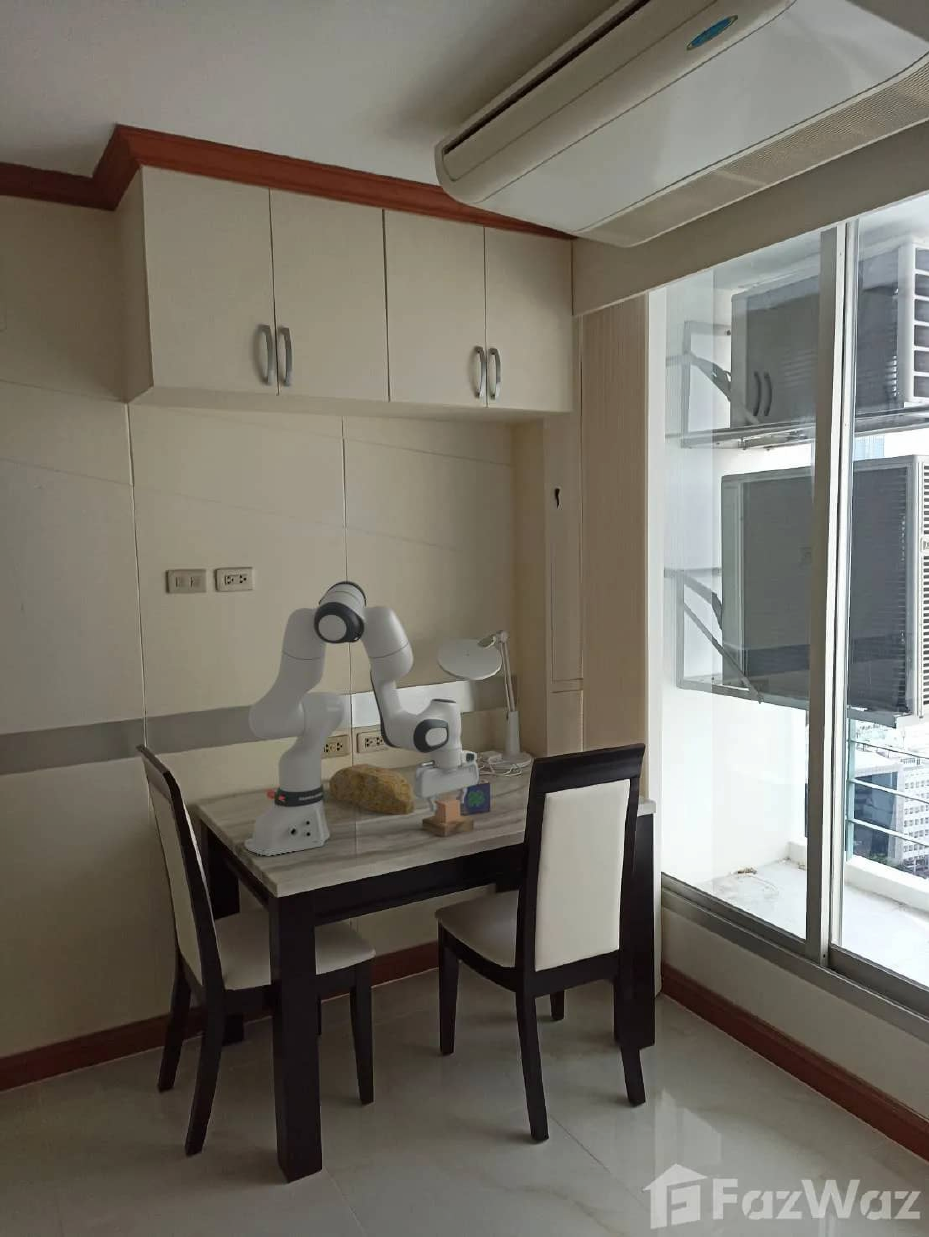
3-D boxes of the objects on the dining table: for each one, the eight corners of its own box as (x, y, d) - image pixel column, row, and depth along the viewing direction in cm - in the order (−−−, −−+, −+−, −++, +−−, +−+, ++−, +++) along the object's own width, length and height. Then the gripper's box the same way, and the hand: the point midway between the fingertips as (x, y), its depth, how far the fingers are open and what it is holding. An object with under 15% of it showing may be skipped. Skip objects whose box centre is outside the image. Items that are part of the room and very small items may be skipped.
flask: (461, 816, 263) (460, 779, 262) (458, 813, 266) (457, 777, 264) (491, 812, 266) (491, 776, 265) (488, 809, 268) (487, 773, 267)
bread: (424, 809, 271) (423, 776, 270) (396, 818, 263) (395, 784, 262) (348, 786, 296) (347, 756, 295) (321, 794, 289) (319, 763, 288)
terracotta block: (446, 822, 249) (445, 804, 249) (434, 818, 253) (434, 800, 252) (460, 818, 252) (459, 800, 252) (448, 814, 256) (448, 796, 256)
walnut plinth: (445, 836, 246) (444, 827, 246) (422, 828, 254) (422, 818, 253) (473, 828, 252) (473, 818, 252) (450, 819, 260) (450, 810, 260)
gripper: (422, 766, 242) (423, 818, 243) (481, 752, 255) (482, 801, 256) (407, 762, 247) (409, 812, 248) (466, 749, 260) (468, 797, 261)
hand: (447, 807), depth 252 cm, fingers open, 8 cm apart
